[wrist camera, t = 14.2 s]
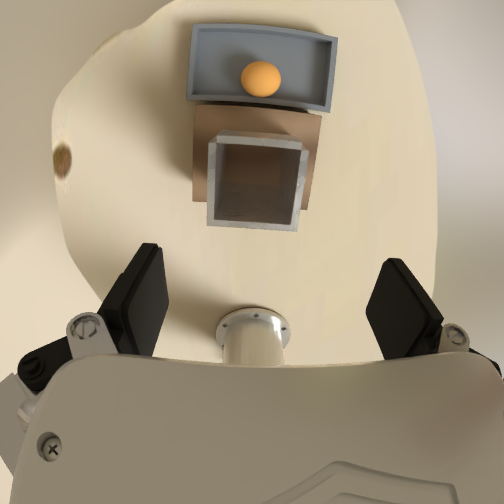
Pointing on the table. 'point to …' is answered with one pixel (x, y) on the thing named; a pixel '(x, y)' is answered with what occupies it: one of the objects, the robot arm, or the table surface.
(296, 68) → the tray
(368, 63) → the table surface
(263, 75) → the ball
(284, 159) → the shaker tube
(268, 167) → the stand
